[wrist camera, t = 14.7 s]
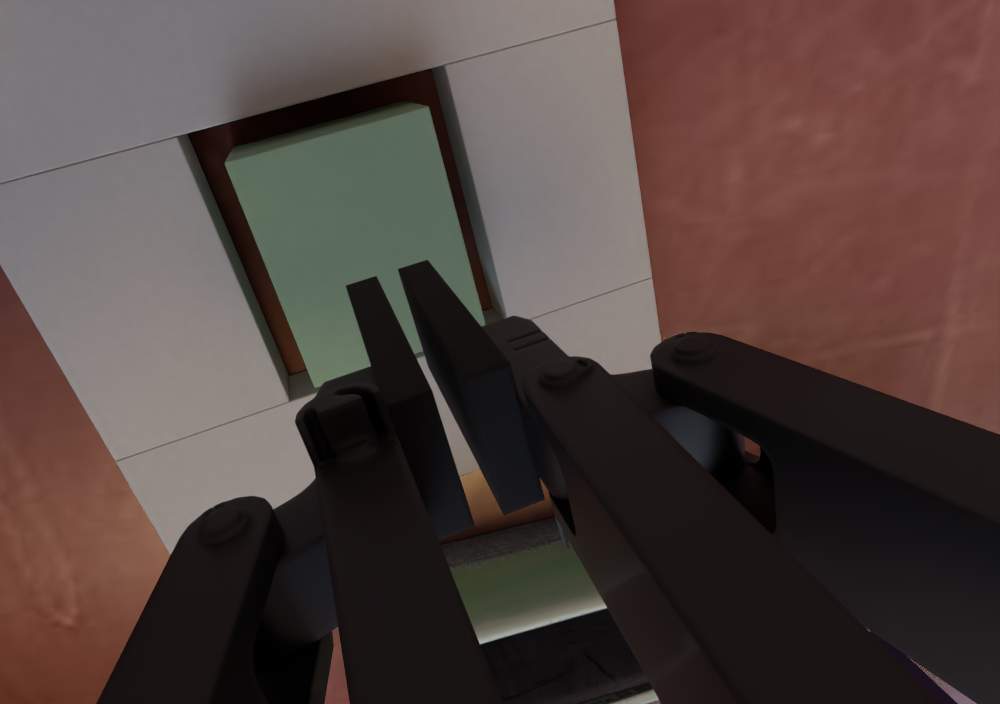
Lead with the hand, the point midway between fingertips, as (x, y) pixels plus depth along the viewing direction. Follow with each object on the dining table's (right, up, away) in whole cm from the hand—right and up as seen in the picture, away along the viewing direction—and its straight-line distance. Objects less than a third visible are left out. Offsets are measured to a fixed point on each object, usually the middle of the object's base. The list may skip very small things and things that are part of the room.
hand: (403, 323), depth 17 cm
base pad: (-3, +4, +10) cm, 11 cm away
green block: (-3, +4, +10) cm, 11 cm away
